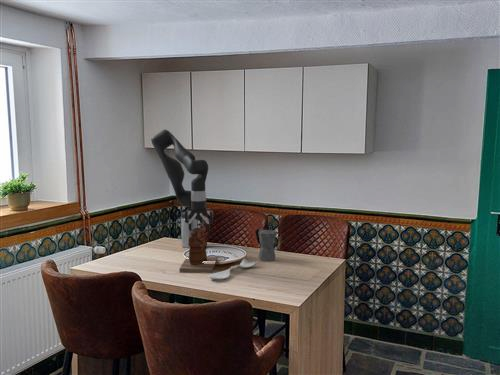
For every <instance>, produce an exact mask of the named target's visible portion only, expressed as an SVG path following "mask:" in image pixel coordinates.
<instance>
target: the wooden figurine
mask: <svg viewBox="0 0 500 375" xmlns="http://www.w3.org/2000/svg"><path fill="white" fill-rule="evenodd" d="M188 241H189V242H188V245H189V247H190V248H189V250H188V254H189V255H188V256H189V260H190V264H191V265H198V264H203V263H202V262H203V261H205V260H207V256H208V255H207V248H208V240H207V235H206V232H205V230H204V229H203V228H201V227H197V228H194V229H193V230H192V232H191V235H190V237H189V240H188Z"/></svg>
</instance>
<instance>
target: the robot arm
mask: <svg viewBox="0 0 500 375" xmlns="http://www.w3.org/2000/svg"><path fill="white" fill-rule="evenodd" d="M150 141H151V144H152V146H153V148H154V150H155V151H156V152H155V153H157V155H158V158H159V159H160V160H161V163H162V166H163V168H164V171H165V173H166V174H167V177H168V178H169V181H170V183H171V185H172V188H173V191H174V194H175V197H176V199H177V202H178V204H179V205H180V206H182V207H187V209H186V210H185V211H183V212H181V213H180V220H181V221H180V223H181V225H180V226H181V228H180V229H181V233H180V235H181V247H182V248H189V249H190V247H189V245H188V242H189V241H188V240H189V237H190V235H191V232H192V230H193V229H194V228H198V220H204V221H205V223H206V232H208V231H210V229H211V224H212V223H213V222H214V212H213V210H207V194H206V193H207V192H206V181H207V176H208V172H209V164H208V162H207V161H206V160H205V159H196V156H195V155H194V154H193V153H192V152H191V151H189V150H188V149H186V148H185V147H184V146H183V145H182V143H181V142H180V141H179V140H178V139H177V137H175V135H173V134H172V132H171V131H169V130H168V129H162V130H161V131H158V133H156V134H154V135H153V136H151V138H150ZM171 146H173V149H174V156H175V158H176V159H175V158H172V157H171V156H170V155H168V154H167V153H166V152H165V150H166V149H167V148H169V147H171ZM182 165H184V168H185V169H186V171H187V172H188V173H189V174H190V175H196V177H195V178H193V179H192V180H191V183H190V184H191V185H190V186H191V189H190V190H186V189H185V188H184V185H183V182H184V179H185V170H184V169H183V166H182ZM207 214H208V215H209V218H210V219H209V218H208V217H207Z"/></svg>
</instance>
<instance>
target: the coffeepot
mask: <svg viewBox="0 0 500 375" xmlns="http://www.w3.org/2000/svg"><path fill="white" fill-rule="evenodd" d="M269 228H270V227H269V226H265V229H260V228H257V229H256V230H255V237H256V241H257V244H259V245H260V248H259V253H258V260H259V261H261V262H274V261H275V260H276V258H277V257H276V251H275V247H274V245H275V241H276V236H278V235H277V231H275V230H272V229H269Z"/></svg>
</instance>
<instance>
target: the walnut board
mask: <svg viewBox="0 0 500 375" xmlns="http://www.w3.org/2000/svg"><path fill="white" fill-rule="evenodd" d="M187 257H188V258H189V255H188V256H186V258H187ZM186 258H185V259H184V261H183V262H182V264H181V265H180V267H179V273H193V274H194V273H196V274H199V273H200V274H201V273H203V274H204V273H205V274H209V273H211V274H213V271H214V268H215V266H216V264H215V265H214V264H204V263H203V264H198V265H191V264H190V260H189V259H186ZM216 260H217V261H218V256H212V255H211V256H210V255H209V256H208V255H207V260H205V261H216Z"/></svg>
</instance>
